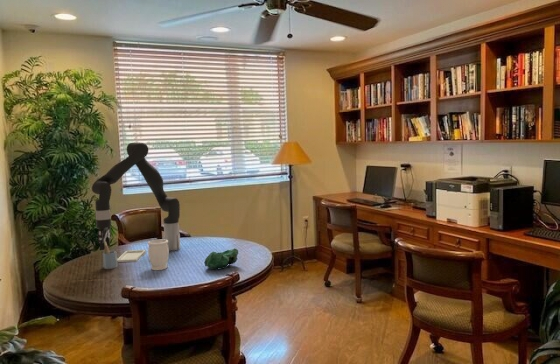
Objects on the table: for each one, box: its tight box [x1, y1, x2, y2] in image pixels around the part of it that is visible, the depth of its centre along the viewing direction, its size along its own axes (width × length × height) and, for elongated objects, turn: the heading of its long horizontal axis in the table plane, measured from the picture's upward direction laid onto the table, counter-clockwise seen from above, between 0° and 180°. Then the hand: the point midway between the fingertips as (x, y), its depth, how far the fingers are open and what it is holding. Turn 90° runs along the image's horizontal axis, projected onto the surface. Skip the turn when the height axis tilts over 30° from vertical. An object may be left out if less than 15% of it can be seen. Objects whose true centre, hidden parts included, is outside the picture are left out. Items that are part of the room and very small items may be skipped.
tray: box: [117, 249, 147, 263], centre depth 255 cm, size 12×22×2 cm, turn 5°
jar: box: [147, 238, 170, 271], centre depth 232 cm, size 11×10×15 cm
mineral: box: [204, 247, 239, 270], centre depth 231 cm, size 18×16×10 cm
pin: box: [101, 239, 111, 254], centre depth 234 cm, size 6×2×16 cm, turn 95°
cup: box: [102, 250, 118, 270], centre depth 234 cm, size 7×7×9 cm
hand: (105, 247), depth 233 cm, fingers open, 8 cm apart
